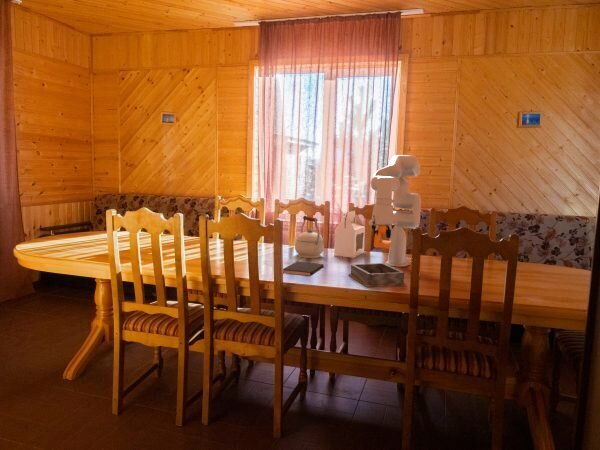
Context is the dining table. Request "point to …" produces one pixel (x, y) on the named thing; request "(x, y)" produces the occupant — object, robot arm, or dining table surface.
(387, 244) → the bracket
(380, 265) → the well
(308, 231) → the kettle
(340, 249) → the gable box
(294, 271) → the hardcover book
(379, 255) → the dining table surface
